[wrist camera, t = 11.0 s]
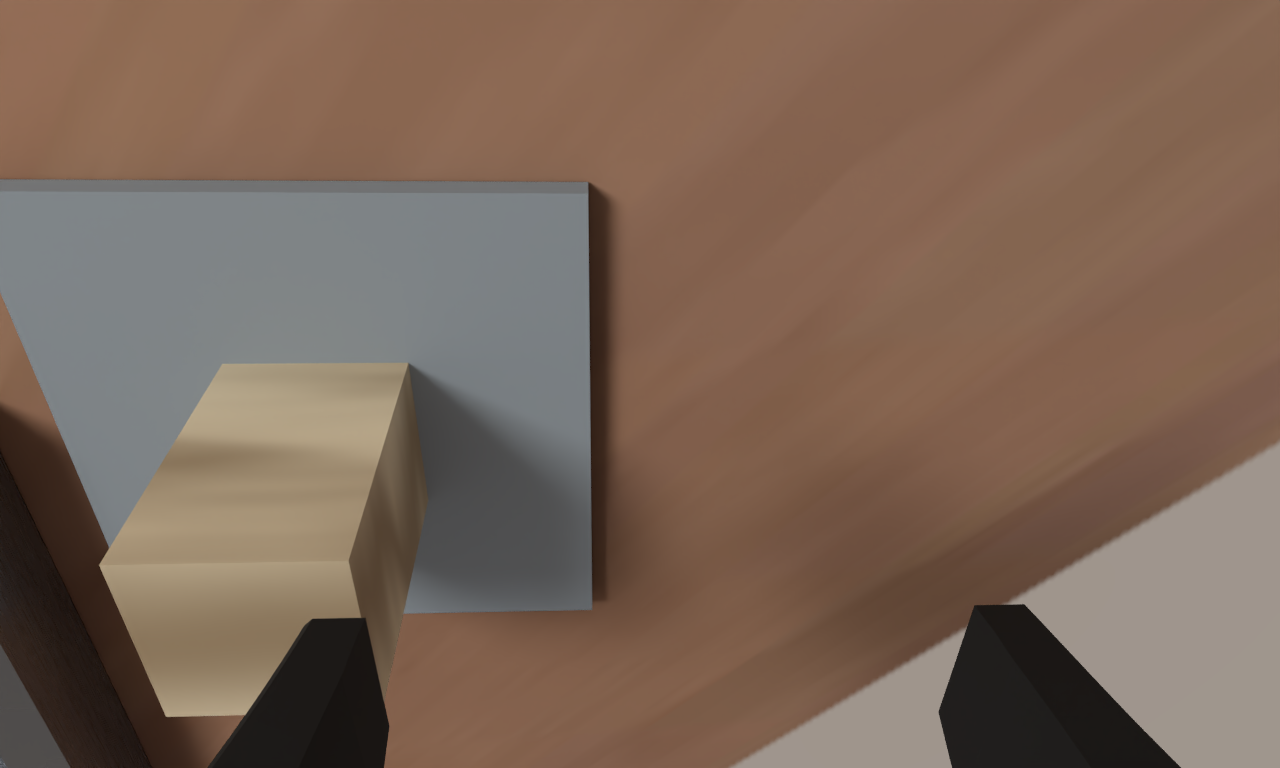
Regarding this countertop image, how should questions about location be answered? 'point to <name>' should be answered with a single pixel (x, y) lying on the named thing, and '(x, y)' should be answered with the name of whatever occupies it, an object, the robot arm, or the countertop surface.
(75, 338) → the mat
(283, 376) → the peg
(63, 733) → the tray
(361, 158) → the countertop surface
